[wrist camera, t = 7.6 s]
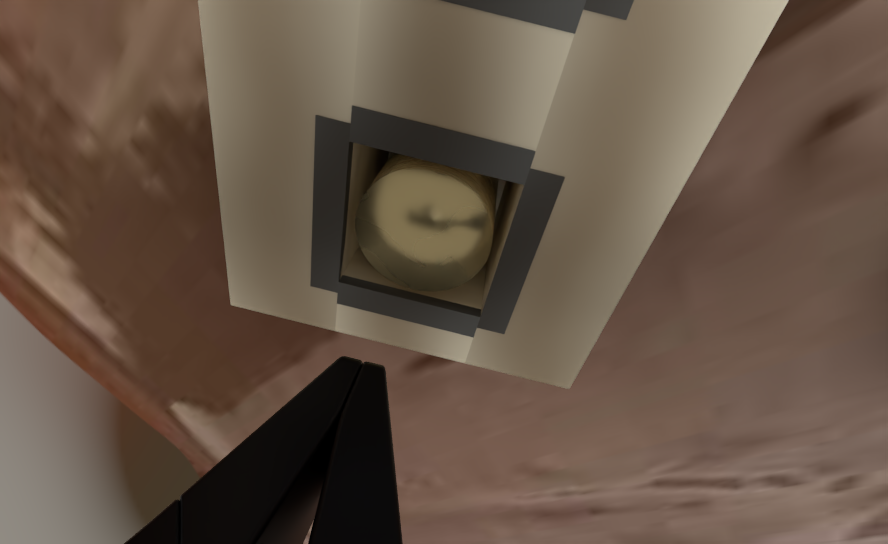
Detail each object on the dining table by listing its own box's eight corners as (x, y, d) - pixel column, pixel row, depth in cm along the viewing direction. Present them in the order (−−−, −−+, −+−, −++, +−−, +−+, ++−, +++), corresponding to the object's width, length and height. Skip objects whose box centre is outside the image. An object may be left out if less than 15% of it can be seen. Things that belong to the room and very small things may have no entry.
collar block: (840, -347, 10) (1164, -663, 5) (557, 286, 20) (569, 390, 15) (309, -479, 10) (95, -931, 5) (300, 222, 20) (229, 305, 15)
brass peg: (512, 131, 16) (509, 190, 12) (484, 227, 18) (473, 304, 14) (402, 104, 16) (361, 153, 12) (388, 204, 18) (349, 273, 14)
